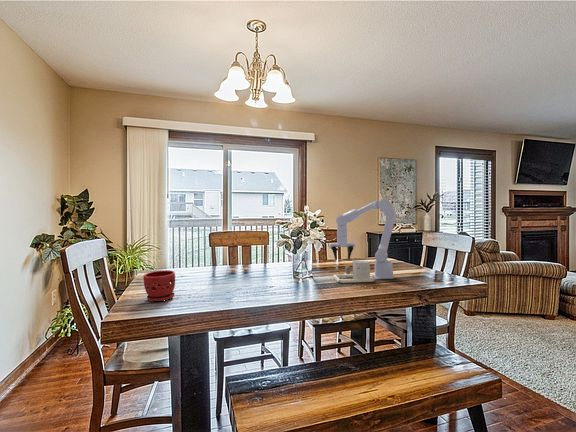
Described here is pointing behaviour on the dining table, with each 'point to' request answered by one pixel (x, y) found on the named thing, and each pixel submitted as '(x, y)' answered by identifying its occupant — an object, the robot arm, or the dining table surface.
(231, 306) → the dining table surface
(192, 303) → the dining table surface
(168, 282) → the plant pot
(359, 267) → the small box
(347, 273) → the pull frame
